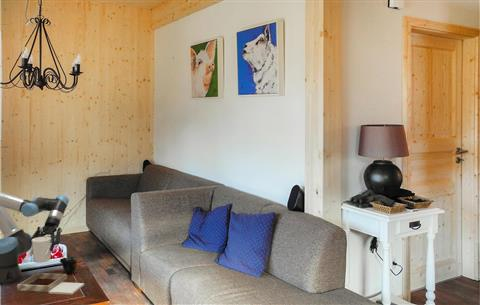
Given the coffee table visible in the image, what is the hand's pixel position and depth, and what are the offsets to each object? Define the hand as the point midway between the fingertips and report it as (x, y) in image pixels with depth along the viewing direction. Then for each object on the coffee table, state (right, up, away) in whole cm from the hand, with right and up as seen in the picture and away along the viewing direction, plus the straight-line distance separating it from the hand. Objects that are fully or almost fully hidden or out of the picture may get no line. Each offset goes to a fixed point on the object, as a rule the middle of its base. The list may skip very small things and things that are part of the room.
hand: (38, 255), depth 225 cm
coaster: (+16, -18, -2) cm, 24 cm away
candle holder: (0, -4, +3) cm, 5 cm away
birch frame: (0, -17, +4) cm, 18 cm away
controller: (+7, -16, +23) cm, 29 cm away
